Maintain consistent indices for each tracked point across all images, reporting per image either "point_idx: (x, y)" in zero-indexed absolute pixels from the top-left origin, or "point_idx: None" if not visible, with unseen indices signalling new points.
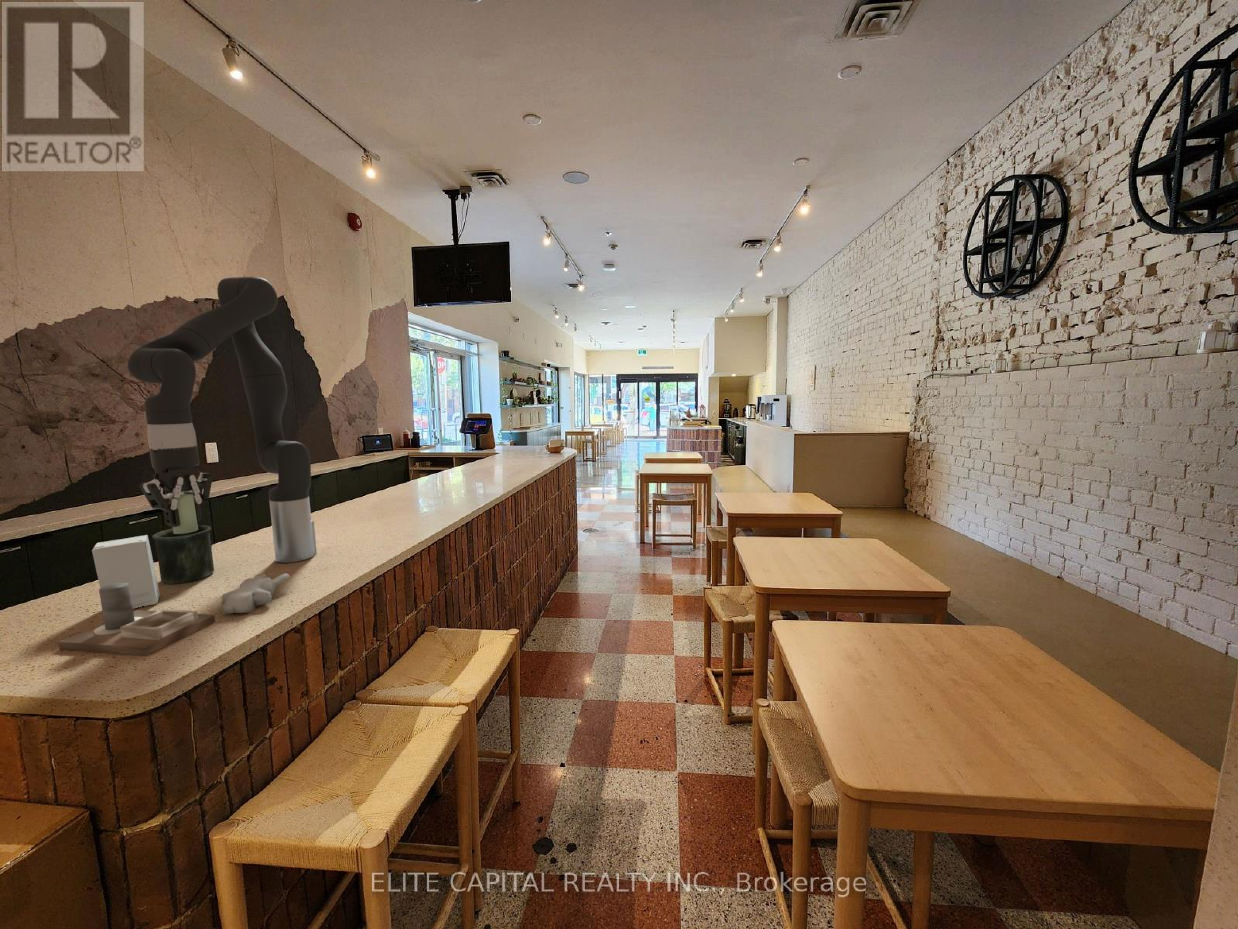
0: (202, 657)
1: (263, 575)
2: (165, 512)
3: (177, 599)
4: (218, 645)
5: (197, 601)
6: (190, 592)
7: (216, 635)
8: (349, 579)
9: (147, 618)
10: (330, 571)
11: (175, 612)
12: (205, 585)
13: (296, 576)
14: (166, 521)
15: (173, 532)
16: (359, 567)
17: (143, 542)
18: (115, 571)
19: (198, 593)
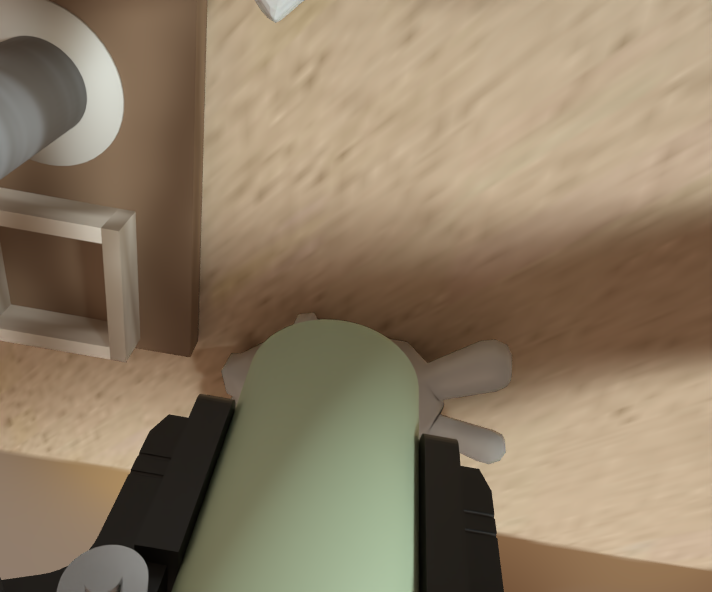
0: (7, 431)
1: (502, 382)
2: (102, 545)
3: (422, 13)
4: (67, 431)
5: (387, 142)
6: (522, 6)
7: (115, 395)
8: (551, 539)
9: (42, 230)
10: (671, 465)
11: (107, 294)
12: (629, 11)
13: (644, 377)
14: (145, 452)
15: (268, 341)
16: (688, 532)
17: (262, 8)
18: None
19: (497, 67)
